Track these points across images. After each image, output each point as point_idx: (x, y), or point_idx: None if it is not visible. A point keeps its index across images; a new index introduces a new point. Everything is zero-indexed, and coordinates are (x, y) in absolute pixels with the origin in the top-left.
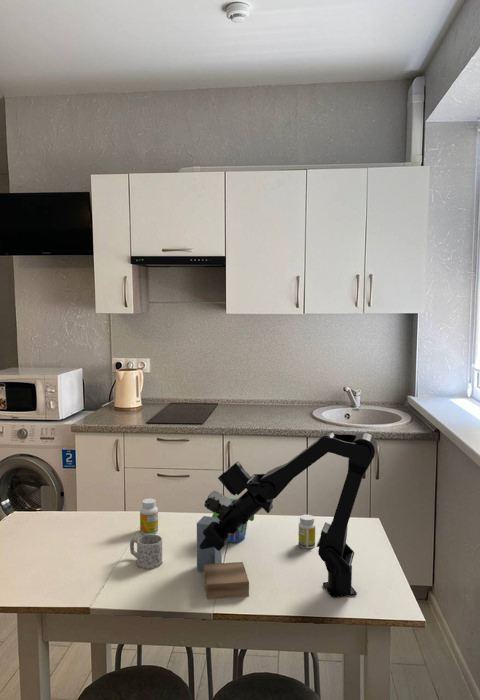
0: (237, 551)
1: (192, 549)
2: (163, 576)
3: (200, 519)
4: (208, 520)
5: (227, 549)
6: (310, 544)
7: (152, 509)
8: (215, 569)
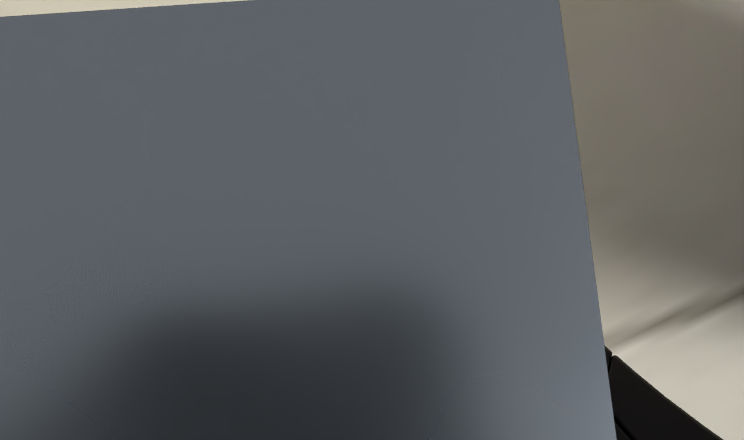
0: (737, 423)
1: (575, 3)
2: (2, 4)
3: (104, 15)
4: (143, 436)
5: (728, 310)
6: None
7: None
8: None
